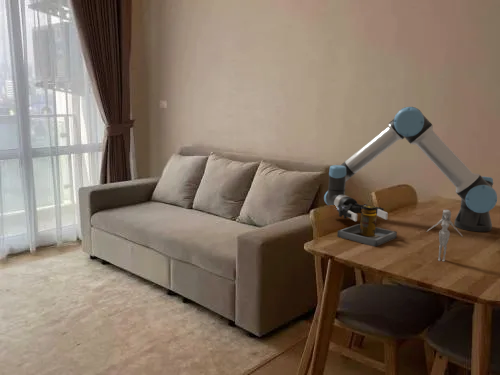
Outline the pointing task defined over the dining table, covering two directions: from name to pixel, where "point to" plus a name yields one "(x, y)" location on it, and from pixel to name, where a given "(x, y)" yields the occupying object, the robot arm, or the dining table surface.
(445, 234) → the human figurine
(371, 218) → the condiment
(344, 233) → the holder
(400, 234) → the dining table surface
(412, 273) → the dining table surface
